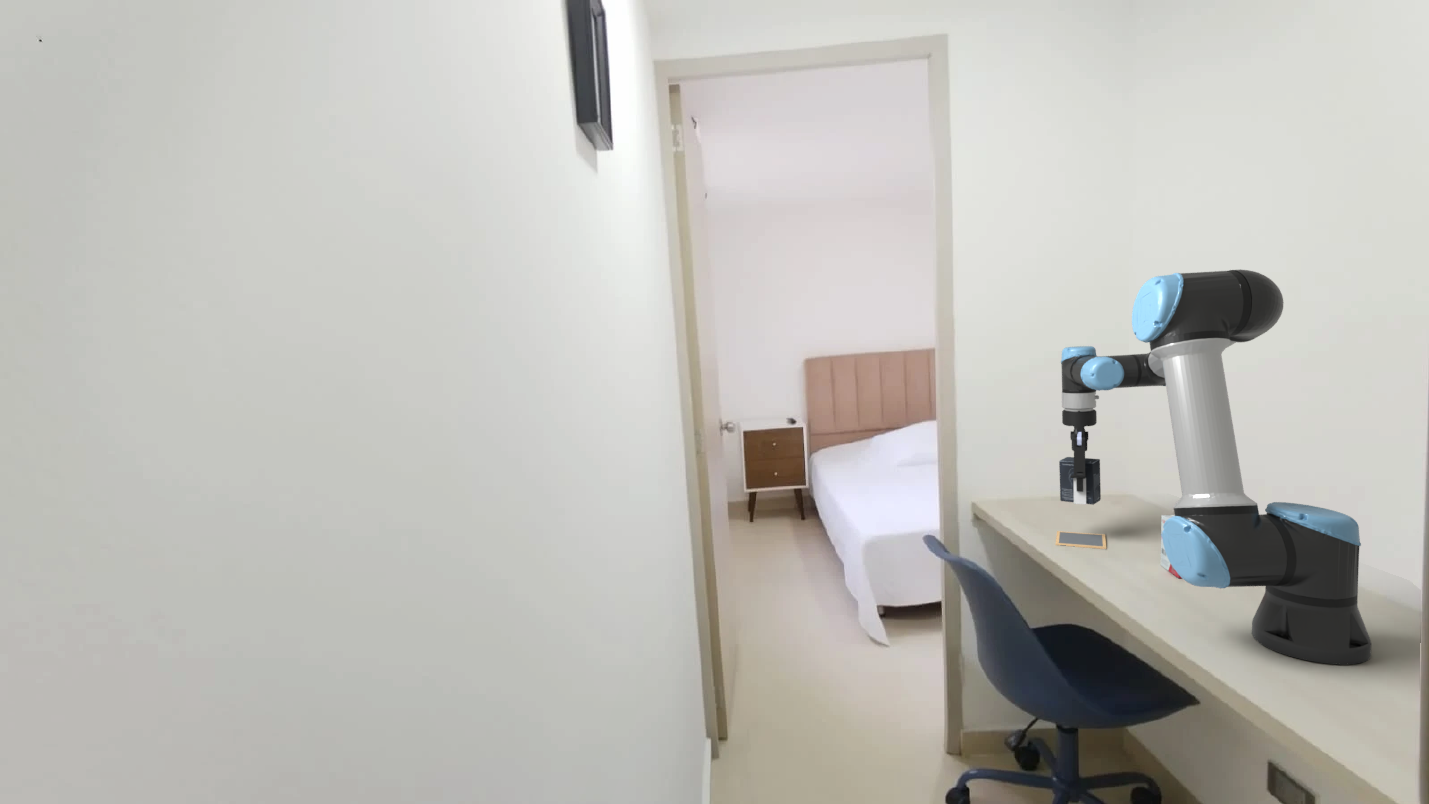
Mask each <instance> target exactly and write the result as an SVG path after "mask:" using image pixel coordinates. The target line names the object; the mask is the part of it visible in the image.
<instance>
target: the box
mask: <svg viewBox="0 0 1429 804" xmlns="http://www.w3.org/2000/svg"><path fill="white" fill-rule="evenodd" d="M1058 462H1059V490H1060V491H1059V494H1060V495H1059V497H1060V499H1059V500H1060V502H1066V503H1067V502H1068V503H1074V479H1073V478H1071V475H1073V474H1074V456H1072V457H1071V456H1066V457H1064V458H1062V459H1060V460H1059V461H1058ZM1082 473H1083V472H1082ZM1085 474H1086V477H1085V478H1086V504H1085V505H1093V506H1094V505H1095V504H1097V503H1098V502H1100V501H1101V499H1102V497H1101V496H1102V495H1101V459H1100V458H1089V457H1088V458H1087V457H1085Z"/></svg>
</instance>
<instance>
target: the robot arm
mask: <svg viewBox="0 0 1429 804" xmlns="http://www.w3.org/2000/svg"><path fill="white" fill-rule="evenodd" d="M1284 304H1285V303H1284V297H1283V294H1282V292H1281V288H1280V287H1279V286H1278V285H1277V284H1276V283H1275V282H1274V281H1273V280H1272V279H1270V277H1268V276H1266V275H1265V274H1262V273H1261V272H1260V273H1259V272H1256V271H1254V270H1247V269H1232V270H1231V269H1230V270H1218V271H1216V270H1215V271H1201V272H1199V271H1198V272H1174V273H1171V274H1167V275H1165V274H1164V275H1157V276H1154V277H1150V278H1149V279H1148V280H1147V281H1145V282H1144V283H1143V285H1142V286H1141V287H1140V289H1139V290H1138V293H1137V294H1136V298H1135V299H1134V302H1133V307H1132V312H1131V326H1132V332H1133V334H1134V335H1135V338H1136V339H1137V340H1138V341H1140V342H1143V343H1147V344H1148V343H1149V348H1150V351H1149V352H1148V353H1137V354H1136V353H1134V354H1123V355H1122V354H1121V355H1102V356H1098V355H1097V350H1096V348H1095V347H1094V346H1091V345H1090V346H1089V345H1088V346H1087V345H1083V346H1082V345H1080V346H1067V347H1064V348H1063V349H1062V351H1061V360H1060V363H1061V407H1062V408H1063V410H1062V413H1061V415H1062V418H1061V419H1062V422H1061V423H1062V425H1064V426H1066V427H1073V428H1074V429H1073V431H1070V437H1069V438H1070V440H1071V450H1072V452H1073V457H1074V474H1073V475H1071V478H1073V479H1074V502H1073V504H1074V505H1087V504H1086V478H1085V477H1086V474H1085V458H1086V452H1087V451H1088V441H1089V431H1086V429H1085V427H1093V426H1095V425H1096V424H1097V422H1098V421H1097V410H1096V407H1097V400H1099V399H1100V396H1099V395H1098V394H1097V391H1111V390H1114V389H1121V388H1136V387H1137V388H1139V387H1140V388H1141V387H1142V388H1143V387H1159V386H1160V387H1166V395H1167V403H1168V408H1169V415H1170V422H1171V428H1172V435H1173V441H1174V449H1175V455H1176V456H1175V457H1176V461H1177V469H1178V476H1179V481H1180V489H1181V497H1180V499H1179V500H1178V501H1176V503H1175V504H1174V505H1173V513H1174V514H1173V515H1175V516H1173V517H1171V518H1169V519H1167V520H1166V521H1165V523H1164V525H1163V528H1164V530H1163V531H1162V539H1163V545H1164V549H1165V552H1166V555H1167V557H1168V559H1169V561H1170V563H1171V565H1172V567H1173V568H1174V569H1175V570H1176V572H1177V573H1178V575H1179V576H1180V577H1181V578H1182V579H1183V581H1185V582H1186V583H1188V584H1190V585H1192V586H1193V587H1194V586H1195V587H1201V588H1216V589H1217V588H1218V589H1226V588H1232V587H1233V588H1239V587H1265V590H1264V595H1263V597H1262V599H1261V601H1260V603H1259V606H1258V607H1257V609H1256V612H1255V614H1254V616H1253V618H1252V621H1251V635H1252V637H1253V639H1254V640H1255V641H1256V642H1257V643H1259V644H1261V645H1262V646H1264V647H1265V648H1268V649H1270V650H1272V651H1275V652H1277V653H1279V654H1282V655H1285V656H1289V657H1292V658H1296V659H1300V660H1304V661H1309V662H1313V663H1320V664H1327V665H1329V664H1330V665H1356V664H1361V663H1364V662H1366V661H1368V660H1369V659H1371V657H1372V640H1371V638H1370V635H1369V633H1368V630H1367V627H1366V624H1365V622H1364V620H1363V617H1362V615H1361V612H1360V610H1359V607H1358V602H1359V601H1358V597H1359V596H1358V594H1359V593H1358V592H1359V569H1360V567H1359V565H1360V564H1359V562H1360V561H1359V559H1360V547H1361V546H1362V543H1361V540H1360V539H1361V538H1360V527H1359V524H1358V522H1357V521H1356V520H1355V519H1354V518H1353V517H1351V516H1350V515H1348V514H1346V513H1343V512H1339V511H1337V510H1332V509H1329V508H1324V507H1320V506H1315V505H1309V504H1304V503H1303V504H1302V503H1294V502H1283V501H1278V502H1277V501H1274V502H1271V503H1268V504H1267V505H1266V508H1264V509H1265V512H1266V514H1260V511H1259V508H1258V507H1259V506H1258V503H1257V502H1256V501H1254V499H1252V498H1250V497H1249V496H1247V495H1246V493H1245V490H1244V486H1243V479H1242V473H1241V467H1240V462H1239V459H1240V458H1239V455H1238V453H1239V452H1238V447H1237V443H1236V436H1235V430H1234V424H1233V423H1234V422H1233V417H1232V412H1231V406H1230V399H1229V394H1228V393H1229V392H1228V387H1227V381H1226V374H1225V369H1224V362H1223V357H1222V354H1223V352H1224V351H1226V349H1227V348H1229V347H1230V346H1233V345H1234V344H1236V343H1248V342H1250V341H1253V340H1255V339H1256V338H1258V337H1260V336H1262V335H1264V334H1265V333H1268V332H1269V330H1271V329H1272V328H1273V327H1274V326H1275V325H1276V324H1277V322H1278V321H1279V320H1280V318H1281V316H1282V314H1283V311H1284ZM1082 472H1083V473H1082Z"/></svg>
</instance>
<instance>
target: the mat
mask: <svg viewBox="0 0 1429 804" xmlns="http://www.w3.org/2000/svg"><path fill="white" fill-rule="evenodd" d="M1055 538H1056V539H1055V546H1060V545H1066V546H1065V547H1073V546H1075V548H1086V549H1087V548H1088V549H1098V550H1099V549H1101V550H1102V549H1103V550H1106V549H1107V541H1106V534H1104V533H1089V532H1078V531H1077V532H1076V531H1075V532H1074V531H1062V530H1056V537H1055Z"/></svg>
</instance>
